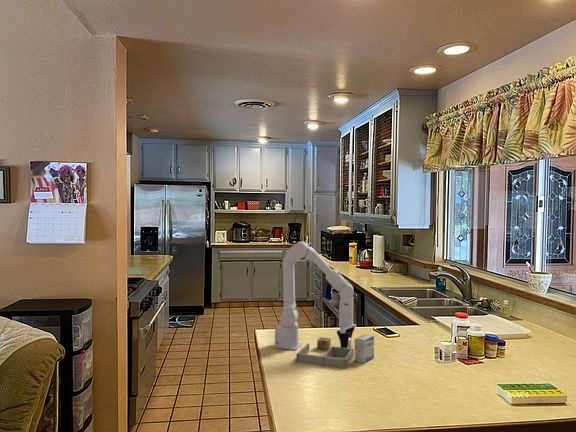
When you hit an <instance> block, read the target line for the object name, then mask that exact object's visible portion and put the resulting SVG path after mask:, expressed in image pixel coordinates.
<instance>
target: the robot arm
mask: <svg viewBox="0 0 576 432" xmlns="http://www.w3.org/2000/svg"><path fill="white" fill-rule="evenodd" d="M303 258H304V260H308V261H311V262H313V263H314V264H315V265H316V266H317V267H318V268H319V269H320V270H321V271H322V272H323V273H324V275H325V280H326V281H327V282H328V283H329V284H330V285H331V286H332V288H334V289H335V291H337V292H338V295H339V302H338V303H339V306H338V307H339V311H338V312H339V313H338V315H339V316H338V318H339V319H338V328H339V330H337V331H336V334H337V337H338V339H339V343H340V347H342V348H347V347H348V340H349V337H351V339H352V337H353V334H354V331H355V329H356V327H357V324H355V323H354V295H355V292H354V286H353V285H352V283H350V281H349V280H348V279H346V278H344V276H342V272H341V271H340V270H337V269H336V268H335V269H333V268H331V267H330V266H329V265H328V263H327V262H326V261H325V260H324V259H323V257H322V256H321V255H320V254H319V253H318V252H317V251H316V250H315V249H314V248H313V247H312V246H310V245H309V243H308V242H306V241H304V240H301V241H298V242H297V243H295V244H293V245H292V246H291V247H290V248H289V250H288V251H287V253H286V254H285V256H284V258H283V259H282V283H283V284H282V286H283V287H282V289H283V290H282V291H283V293H282V295H283V304H282V314H281V315H280V323H281V324H280V323H279V324H276V326H275V329H274V346H273V348H275V349H283V350H292V351H297V349H298V348H299V347H301V345H302V343H301V342H300V343H299V323H298V322H297V320H298V319H299V311H298V309H297V302H296V283H295V279H296V278H295V277H296V276H295V264H296V263H298V261H299V260H300V259H303Z"/></svg>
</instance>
